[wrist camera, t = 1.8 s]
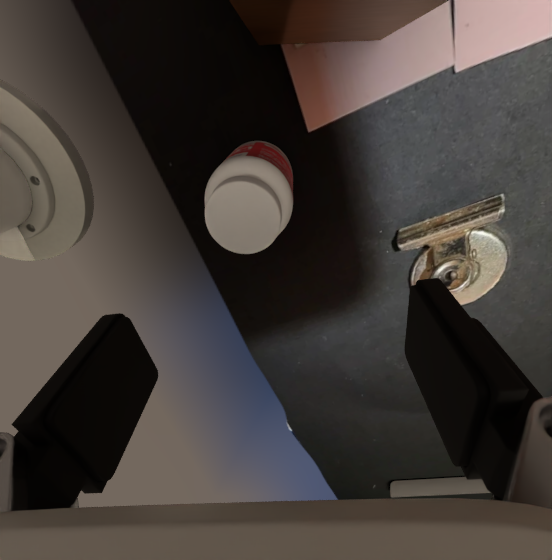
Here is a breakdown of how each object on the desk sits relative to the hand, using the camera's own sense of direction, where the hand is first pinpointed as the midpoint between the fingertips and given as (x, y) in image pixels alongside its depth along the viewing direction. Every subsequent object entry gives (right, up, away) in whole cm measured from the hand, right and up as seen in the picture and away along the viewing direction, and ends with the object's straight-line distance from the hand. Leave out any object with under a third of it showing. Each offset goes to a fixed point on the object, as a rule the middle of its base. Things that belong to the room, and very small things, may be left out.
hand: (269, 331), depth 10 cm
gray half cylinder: (+31, -36, +46) cm, 66 cm away
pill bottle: (-1, +11, +17) cm, 21 cm away
